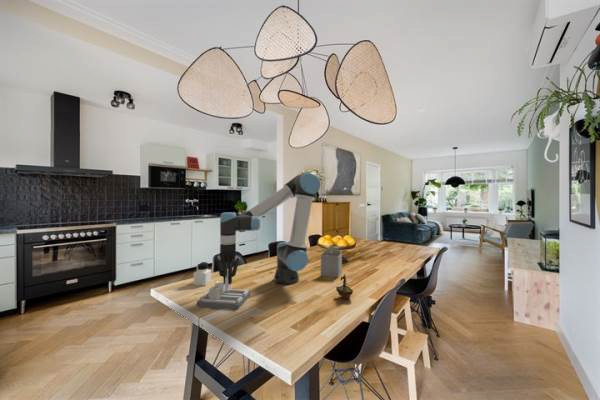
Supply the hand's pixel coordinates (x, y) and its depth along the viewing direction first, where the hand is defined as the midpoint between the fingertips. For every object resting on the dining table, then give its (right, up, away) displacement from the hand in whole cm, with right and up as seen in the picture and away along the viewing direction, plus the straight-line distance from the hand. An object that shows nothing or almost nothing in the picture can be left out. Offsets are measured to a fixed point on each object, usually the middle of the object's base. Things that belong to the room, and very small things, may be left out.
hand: (227, 290), depth 120 cm
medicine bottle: (-20, -3, +19) cm, 28 cm away
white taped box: (-4, -1, +1) cm, 4 cm away
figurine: (+59, -4, 0) cm, 59 cm away
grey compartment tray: (0, -4, -4) cm, 5 cm away
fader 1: (-4, -1, -8) cm, 8 cm away
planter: (+59, -4, +35) cm, 68 cm away
